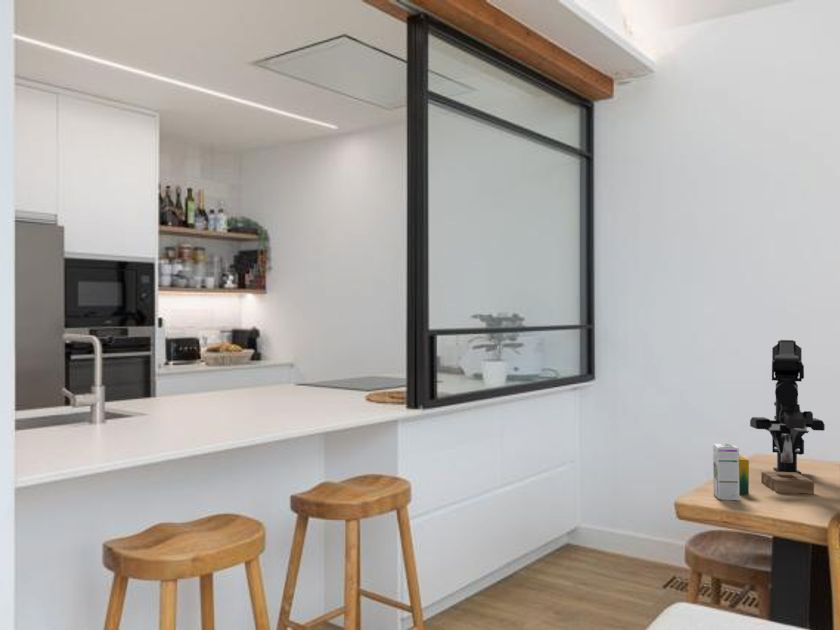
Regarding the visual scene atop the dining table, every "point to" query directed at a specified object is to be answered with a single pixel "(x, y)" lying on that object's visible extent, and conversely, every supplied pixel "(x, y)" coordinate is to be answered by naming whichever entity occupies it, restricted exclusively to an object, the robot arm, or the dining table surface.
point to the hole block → (787, 482)
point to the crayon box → (743, 475)
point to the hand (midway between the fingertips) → (786, 453)
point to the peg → (787, 448)
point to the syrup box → (726, 471)
